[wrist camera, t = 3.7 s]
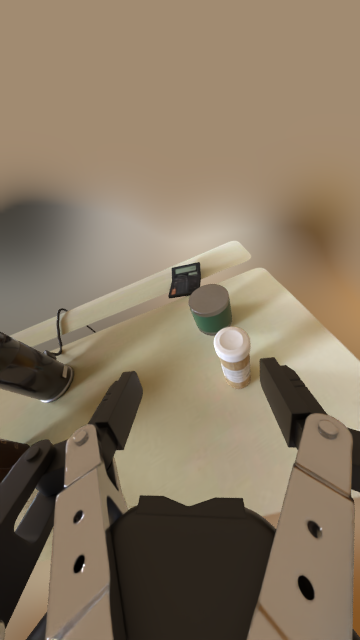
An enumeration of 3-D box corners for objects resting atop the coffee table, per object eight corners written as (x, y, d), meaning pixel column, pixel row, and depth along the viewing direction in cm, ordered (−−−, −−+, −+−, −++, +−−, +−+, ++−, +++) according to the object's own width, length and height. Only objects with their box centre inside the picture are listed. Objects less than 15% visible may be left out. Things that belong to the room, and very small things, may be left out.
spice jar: (233, 361, 34) (225, 320, 24) (255, 374, 31) (257, 333, 21) (220, 380, 32) (206, 345, 22) (242, 395, 29) (238, 363, 20)
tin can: (190, 325, 43) (180, 303, 37) (211, 303, 45) (205, 279, 39) (217, 342, 37) (210, 320, 31) (239, 316, 40) (237, 291, 34)
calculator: (169, 298, 52) (165, 291, 49) (174, 274, 59) (171, 267, 56) (199, 293, 49) (196, 286, 46) (201, 269, 56) (199, 261, 53)
